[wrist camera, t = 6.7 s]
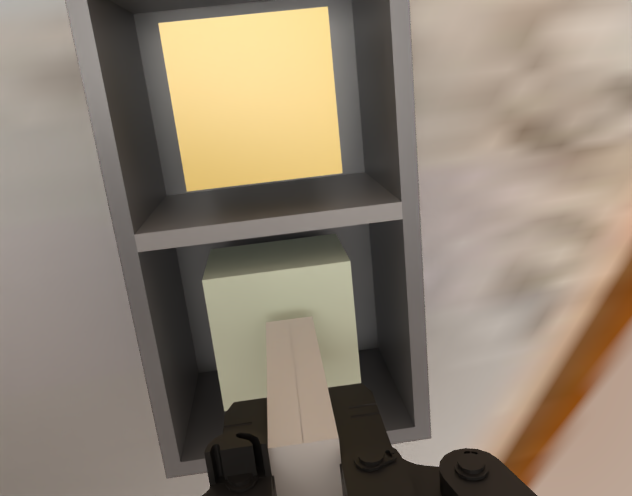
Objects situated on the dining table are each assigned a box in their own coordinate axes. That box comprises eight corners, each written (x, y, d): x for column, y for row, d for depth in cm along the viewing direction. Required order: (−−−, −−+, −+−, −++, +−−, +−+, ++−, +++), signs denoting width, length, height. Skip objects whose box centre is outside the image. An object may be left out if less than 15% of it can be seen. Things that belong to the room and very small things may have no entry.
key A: (229, 362, 24) (224, 411, 20) (210, 249, 22) (202, 280, 19) (346, 346, 24) (361, 391, 20) (335, 233, 23) (350, 261, 19)
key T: (198, 173, 21) (186, 191, 18) (175, 33, 20) (158, 23, 16) (328, 158, 22) (342, 172, 18) (315, 20, 20) (327, 6, 17)
